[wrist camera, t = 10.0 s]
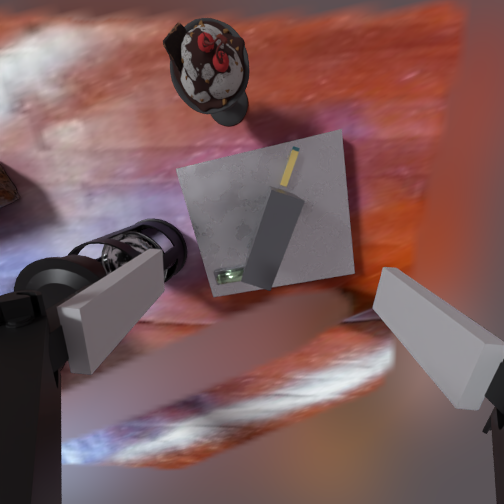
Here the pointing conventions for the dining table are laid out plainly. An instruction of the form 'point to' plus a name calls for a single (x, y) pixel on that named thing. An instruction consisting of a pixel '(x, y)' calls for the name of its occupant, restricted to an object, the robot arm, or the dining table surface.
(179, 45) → the sundae
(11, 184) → the food item
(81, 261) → the french press
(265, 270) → the dark grey rectangular block
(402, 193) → the dining table surface
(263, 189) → the base
